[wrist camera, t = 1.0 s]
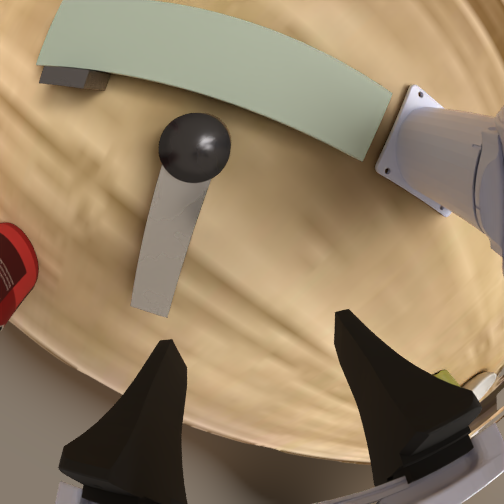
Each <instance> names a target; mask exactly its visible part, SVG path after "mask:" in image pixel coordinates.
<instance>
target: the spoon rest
mask: <svg viewBox="0 0 504 504" xmlns="http://www.w3.org/2000/svg"><path fill="white" fill-rule="evenodd" d="M495 379H496V373H494V372H484V373H481V374H479V375H476V376H475V377H473V378H472V379H471V380H469V381H468V382H467V383H466V384H465V385H464V386H463V387H462V388H465V389H468V390H471V391H473V393H474V394H475V396H476V397H477V399H478V401H479V400H480V399H481V398H482V397H483V396H484V395H485V393H486V392H487V391H488V390H489V389H490V387H491V386H492V384H493V383H494V381H495Z"/></svg>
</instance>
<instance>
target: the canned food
mask: <svg viewBox="0 0 504 504" xmlns="http://www.w3.org/2000/svg"><path fill="white" fill-rule="evenodd" d="M37 277H38V261H37V257H36V254H35V251H34V248H33V246H32V244H31V242H30V241H29V239H28V238H27V236H26V235H25V234H24V233H23V231H22V230H20V229H19V228H18V227H17V226H15V225H14V224H11V223H0V332H1V330H2V329H3V327H4V326H5V324H6V323H7V322H8V320H9V319H10V317H11V316H12V315H13V313H14V312H15V311H16V309H17V308H18V307H19V305H20V304H21V303H22V301H23V300H24V299H25V298H26V296H27V295H28V294H29V293H30V291H31V290H32V289H33V287H34V285H35V283H36V280H37Z"/></svg>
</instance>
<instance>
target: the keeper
mask: <svg viewBox="0 0 504 504" xmlns="http://www.w3.org/2000/svg"><path fill="white" fill-rule="evenodd" d="M109 77H110V75H109V74H105V73H101V72H96V71H91V70H85V69H76V68H65V67H52V66H44V68H43V71H42V75H41V78H40V81H39V83H43V84H53V85H61V86H69V87H76V88H83V89H95V90H105V89H106V86H107V83H108V80H109Z"/></svg>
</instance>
